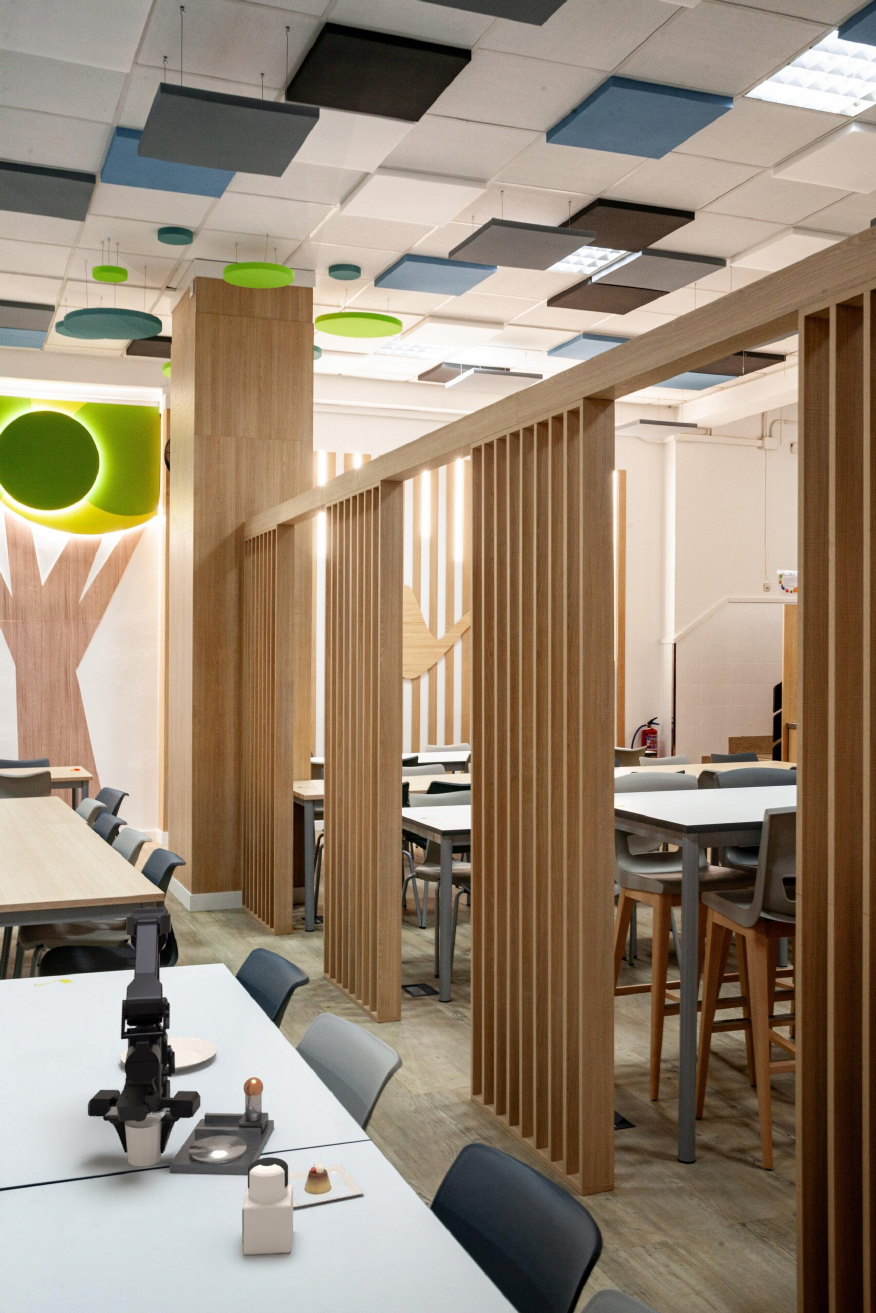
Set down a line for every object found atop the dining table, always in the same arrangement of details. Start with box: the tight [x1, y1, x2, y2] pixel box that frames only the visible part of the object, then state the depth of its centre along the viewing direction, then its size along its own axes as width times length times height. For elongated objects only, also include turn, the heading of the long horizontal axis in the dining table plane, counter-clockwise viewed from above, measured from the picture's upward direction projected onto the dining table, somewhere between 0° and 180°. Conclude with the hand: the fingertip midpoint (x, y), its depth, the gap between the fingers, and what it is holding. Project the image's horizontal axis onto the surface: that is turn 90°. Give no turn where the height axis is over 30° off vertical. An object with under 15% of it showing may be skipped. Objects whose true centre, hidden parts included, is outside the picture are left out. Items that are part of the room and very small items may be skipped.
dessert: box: [288, 1162, 364, 1208], centre depth 189 cm, size 12×12×5 cm
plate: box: [120, 1037, 218, 1072], centre depth 252 cm, size 21×21×2 cm
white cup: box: [125, 1112, 164, 1168], centre depth 200 cm, size 7×7×7 cm
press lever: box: [239, 1077, 269, 1132], centre depth 210 cm, size 4×5×9 cm
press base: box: [169, 1112, 275, 1176], centre depth 205 cm, size 14×20×3 cm
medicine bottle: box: [241, 1156, 294, 1256], centre depth 171 cm, size 7×7×12 cm
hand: (144, 1152), depth 200 cm, fingers closed on white cup, 6 cm apart
